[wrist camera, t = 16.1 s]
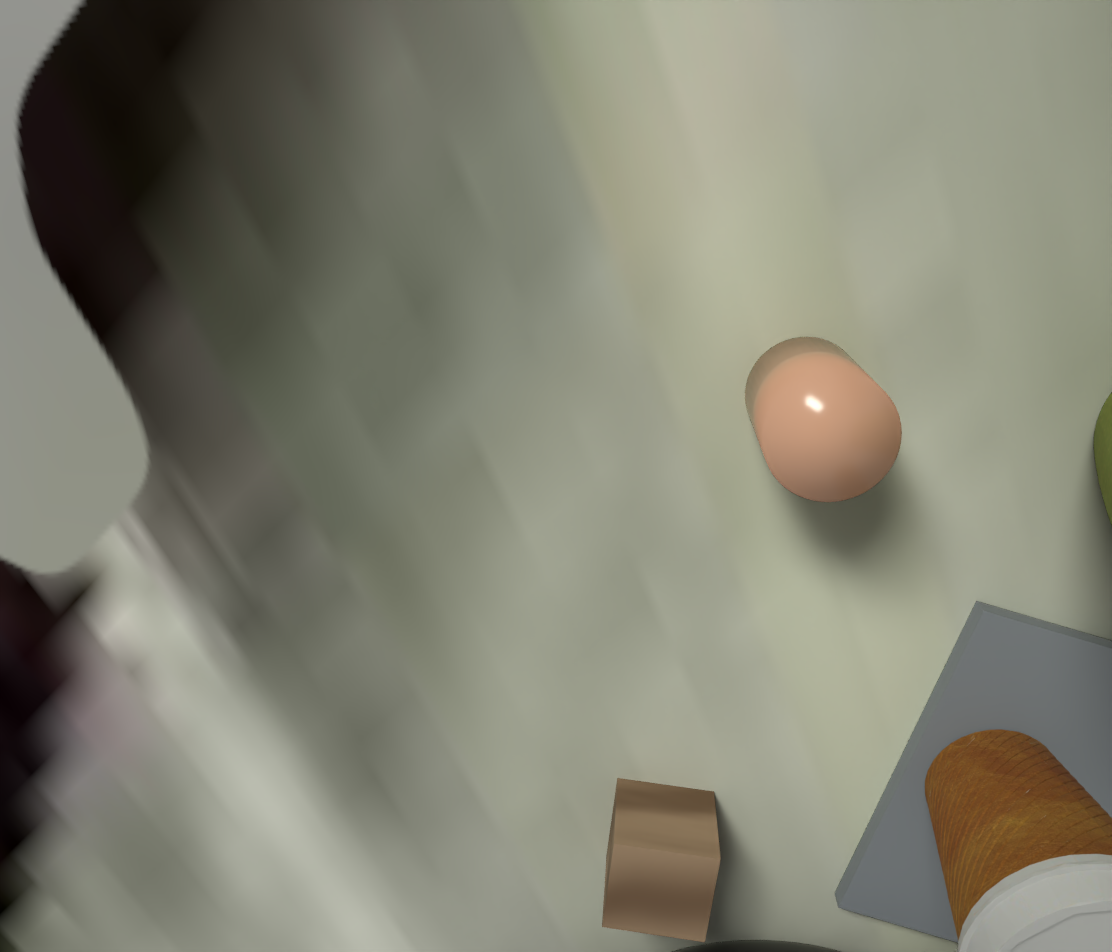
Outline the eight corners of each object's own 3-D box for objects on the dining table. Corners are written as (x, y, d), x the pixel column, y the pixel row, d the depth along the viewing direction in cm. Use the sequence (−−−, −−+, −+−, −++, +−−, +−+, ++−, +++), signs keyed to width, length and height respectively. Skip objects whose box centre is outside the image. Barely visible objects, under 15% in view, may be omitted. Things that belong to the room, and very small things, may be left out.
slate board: (976, 601, 44) (983, 610, 43) (1307, 698, 44) (1321, 710, 43) (834, 893, 50) (838, 907, 49) (1124, 978, 50) (1133, 994, 49)
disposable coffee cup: (1092, 686, 43) (1248, 876, 32) (1098, 853, 46) (1242, 1081, 35) (880, 712, 45) (957, 902, 33) (898, 872, 48) (975, 1096, 36)
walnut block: (617, 777, 49) (613, 843, 44) (713, 790, 48) (720, 859, 44) (606, 854, 50) (602, 926, 46) (699, 868, 50) (704, 942, 45)
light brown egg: (767, 322, 40) (790, 355, 34) (878, 355, 40) (923, 394, 34) (729, 429, 42) (744, 480, 36) (836, 460, 42) (870, 517, 36)
